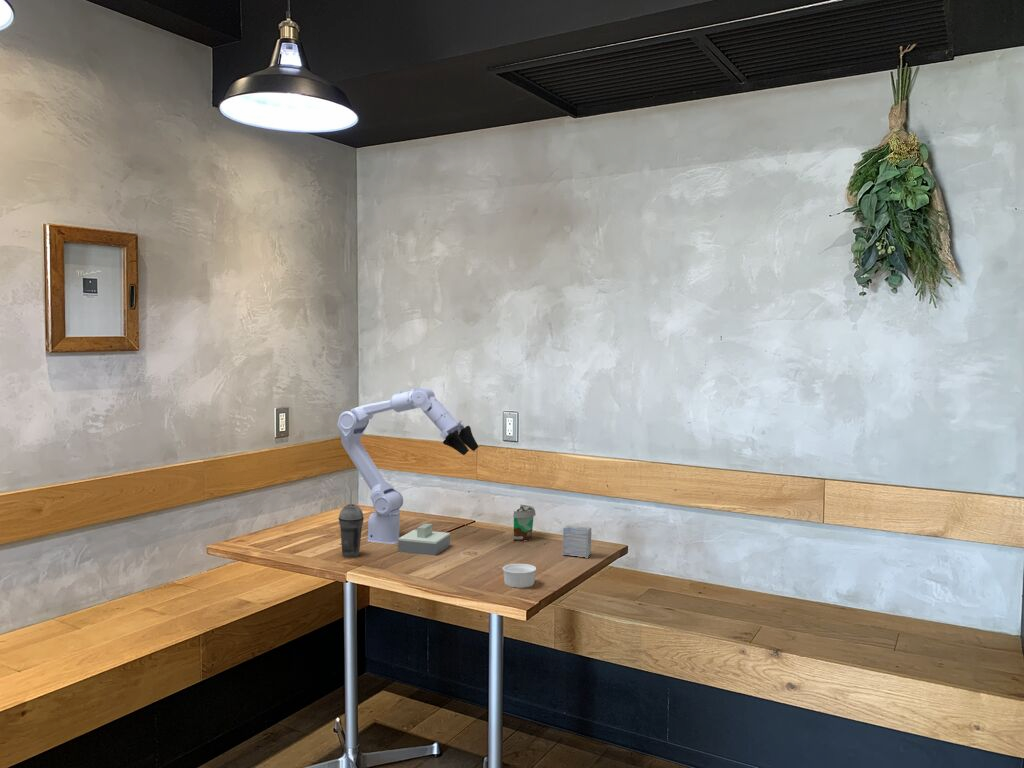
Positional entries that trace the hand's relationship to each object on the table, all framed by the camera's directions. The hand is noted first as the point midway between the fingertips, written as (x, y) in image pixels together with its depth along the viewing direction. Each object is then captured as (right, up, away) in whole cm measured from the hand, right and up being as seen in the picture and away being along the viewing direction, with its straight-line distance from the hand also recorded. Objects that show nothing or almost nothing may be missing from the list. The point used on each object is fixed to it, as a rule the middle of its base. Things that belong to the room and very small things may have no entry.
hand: (471, 450), depth 234 cm
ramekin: (+14, -33, -32) cm, 48 cm away
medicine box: (+32, -32, -2) cm, 45 cm away
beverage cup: (-35, -30, -10) cm, 47 cm away
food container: (+17, -31, +18) cm, 39 cm away
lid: (-14, -27, -1) cm, 30 cm away
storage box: (-14, -30, -1) cm, 33 cm away
